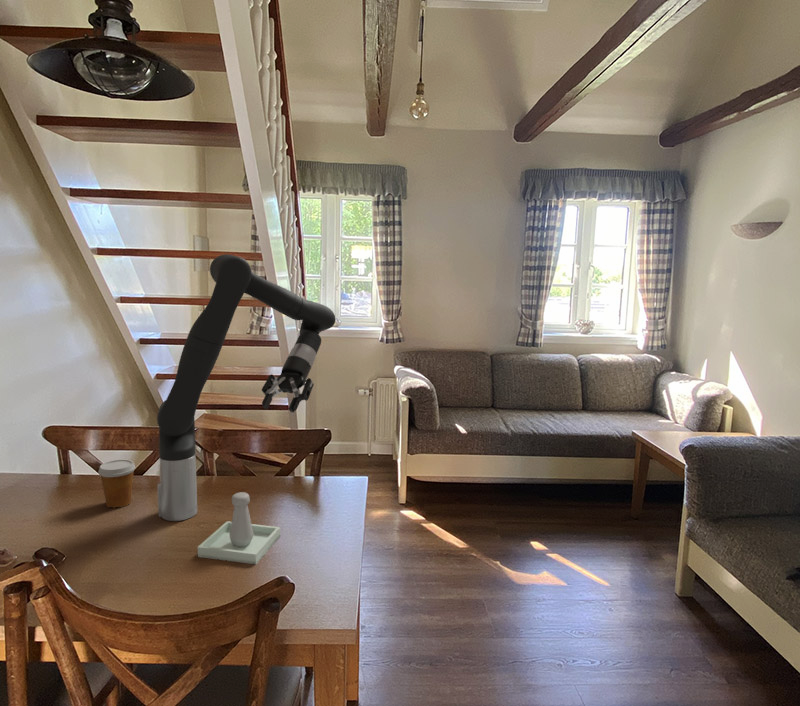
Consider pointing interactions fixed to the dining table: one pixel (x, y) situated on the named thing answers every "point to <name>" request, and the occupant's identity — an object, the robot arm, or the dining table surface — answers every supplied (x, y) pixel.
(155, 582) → the dining table surface
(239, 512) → the salt shaker
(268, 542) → the tray
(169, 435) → the robot arm
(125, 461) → the disposable coffee cup
